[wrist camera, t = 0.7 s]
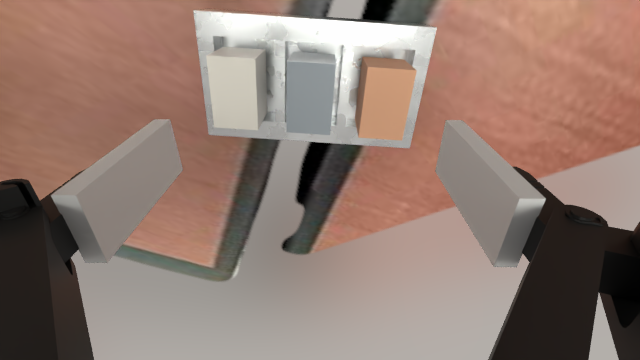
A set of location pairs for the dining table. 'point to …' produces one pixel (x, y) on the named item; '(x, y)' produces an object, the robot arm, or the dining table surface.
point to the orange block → (383, 98)
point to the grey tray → (314, 37)
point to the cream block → (238, 87)
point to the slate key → (310, 92)
